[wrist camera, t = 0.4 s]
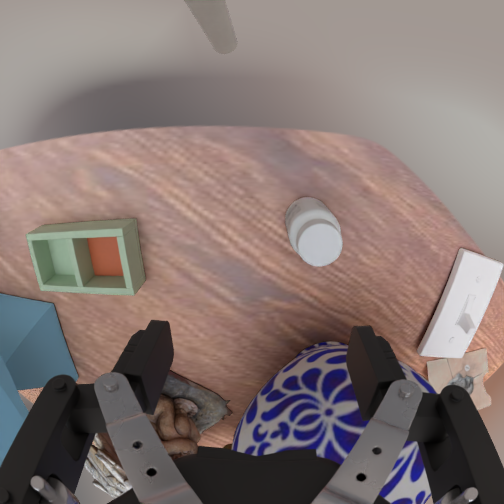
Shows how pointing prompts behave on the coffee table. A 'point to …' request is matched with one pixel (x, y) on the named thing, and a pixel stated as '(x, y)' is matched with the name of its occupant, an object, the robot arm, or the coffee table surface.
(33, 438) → the robot arm
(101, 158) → the coffee table surface
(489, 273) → the light switch
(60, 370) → the blue pedestal holder
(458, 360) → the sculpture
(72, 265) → the tray
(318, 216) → the pill bottle
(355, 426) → the vase
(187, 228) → the coffee table surface
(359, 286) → the coffee table surface
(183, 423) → the cherub figurine
